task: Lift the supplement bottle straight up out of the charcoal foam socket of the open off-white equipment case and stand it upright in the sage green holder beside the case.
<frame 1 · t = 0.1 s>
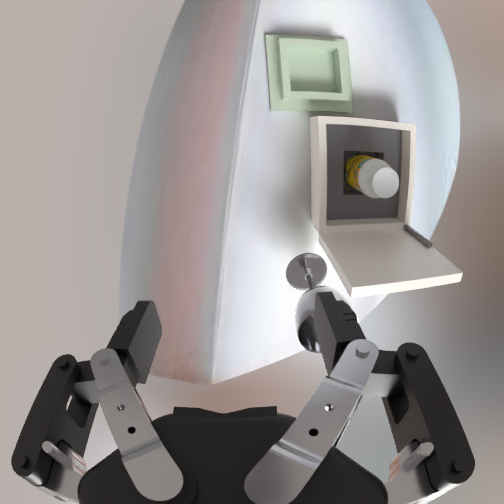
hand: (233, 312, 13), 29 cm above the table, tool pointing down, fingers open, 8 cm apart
sage holder: (309, 72, 32), on the table
wine glass: (306, 271, 46), on the table
supplement bottle: (357, 170, 39), resting in equipment case
equipment case: (357, 170, 38), on the table
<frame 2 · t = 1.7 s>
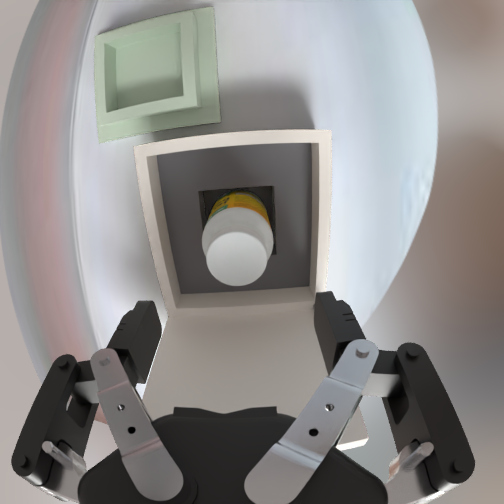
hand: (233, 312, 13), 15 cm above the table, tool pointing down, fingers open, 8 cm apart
sage holder: (153, 72, 20), on the table
supplement bottle: (239, 214, 27), resting in equipment case
equipment case: (239, 215, 26), on the table
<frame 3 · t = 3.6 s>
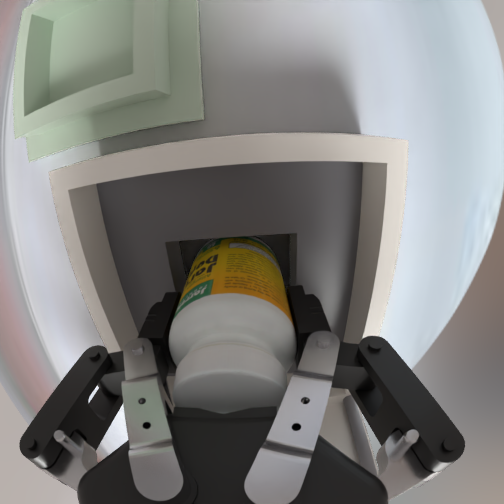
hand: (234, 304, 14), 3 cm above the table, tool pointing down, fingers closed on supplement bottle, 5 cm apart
sage holder: (100, 47, 11), on the table
supplement bottle: (236, 269, 17), resting in equipment case, touching gripper
equipment case: (236, 271, 17), on the table
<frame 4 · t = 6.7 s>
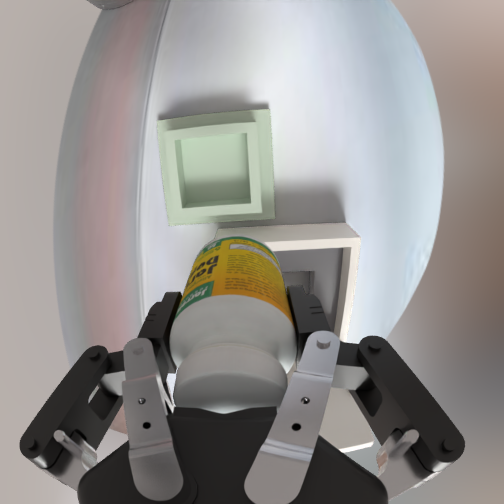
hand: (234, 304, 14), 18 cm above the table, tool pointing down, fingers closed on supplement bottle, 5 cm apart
sage holder: (216, 167, 29), on the table
supplement bottle: (237, 270, 17), point 15 cm above the table, touching gripper
equipment case: (284, 285, 34), on the table
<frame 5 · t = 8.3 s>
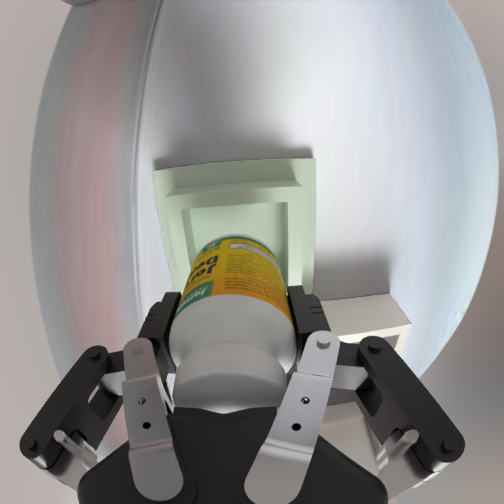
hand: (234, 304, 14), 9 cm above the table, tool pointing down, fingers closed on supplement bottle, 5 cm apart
sage holder: (238, 236, 22), on the table
supplement bottle: (236, 270, 17), point 6 cm above the table, touching gripper
equipment case: (313, 358, 28), on the table
when the fingers open (6 cm above the table, at t = 9.8 s): supplement bottle drops 1 cm, resting on sage holder.
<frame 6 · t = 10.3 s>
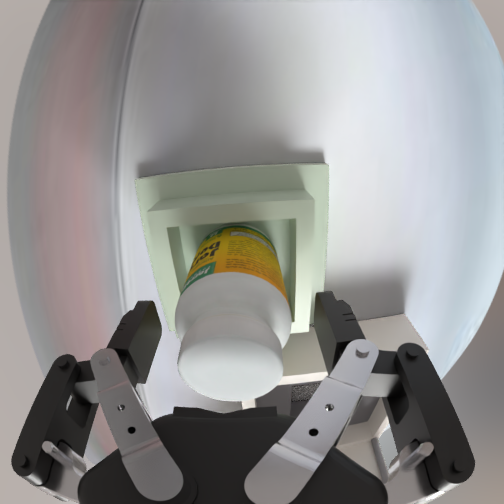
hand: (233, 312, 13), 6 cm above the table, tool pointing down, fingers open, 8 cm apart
sage holder: (237, 254, 19), on the table
supplement bottle: (237, 258, 18), point 1 cm above the table, touching sage holder
equipment case: (319, 382, 25), on the table
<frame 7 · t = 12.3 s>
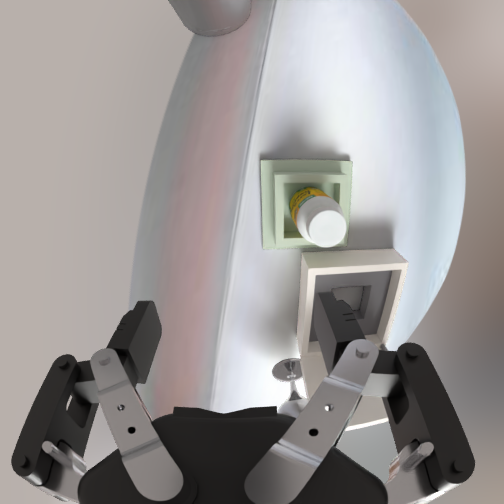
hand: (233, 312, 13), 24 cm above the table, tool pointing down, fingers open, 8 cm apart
sage holder: (306, 204, 36), on the table
wine glass: (290, 370, 49), on the table
supplement bottle: (307, 204, 35), point 1 cm above the table, touching sage holder
equipment case: (344, 295, 42), on the table
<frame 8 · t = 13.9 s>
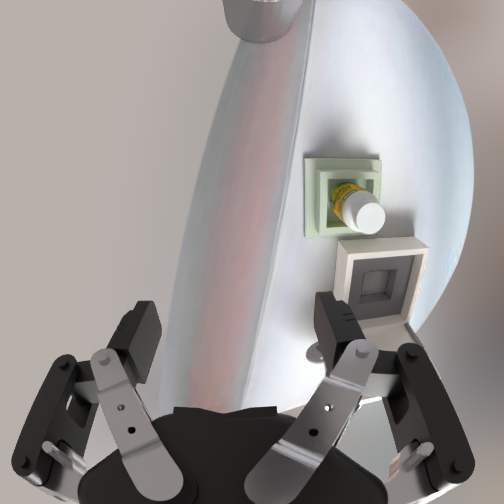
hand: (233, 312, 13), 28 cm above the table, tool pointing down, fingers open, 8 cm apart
sage holder: (343, 197, 39), on the table
wine glass: (322, 351, 53), on the table
supplement bottle: (344, 198, 39), point 1 cm above the table, touching sage holder
equipment case: (372, 279, 46), on the table
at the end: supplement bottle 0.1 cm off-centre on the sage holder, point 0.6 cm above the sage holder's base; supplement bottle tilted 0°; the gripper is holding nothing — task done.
